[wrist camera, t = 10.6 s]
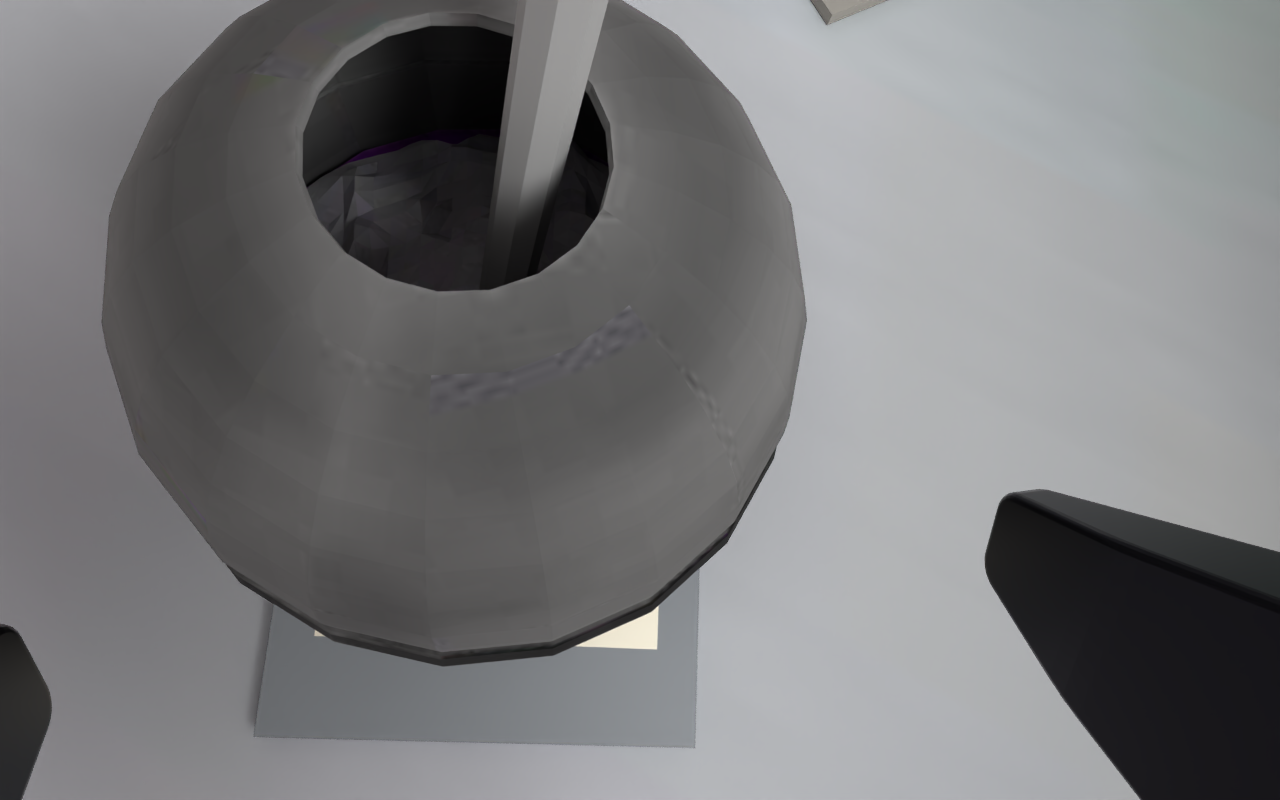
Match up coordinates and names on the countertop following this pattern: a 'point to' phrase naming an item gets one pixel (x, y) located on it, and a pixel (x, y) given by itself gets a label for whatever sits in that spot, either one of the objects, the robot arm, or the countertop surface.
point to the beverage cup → (455, 316)
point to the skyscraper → (842, 8)
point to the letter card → (492, 688)
